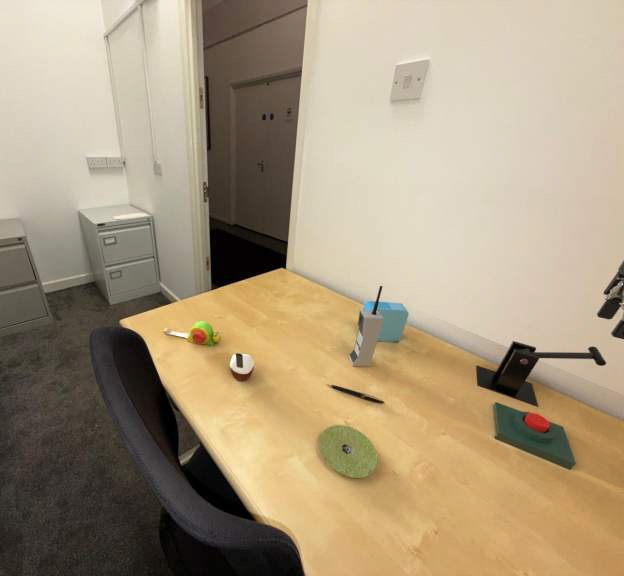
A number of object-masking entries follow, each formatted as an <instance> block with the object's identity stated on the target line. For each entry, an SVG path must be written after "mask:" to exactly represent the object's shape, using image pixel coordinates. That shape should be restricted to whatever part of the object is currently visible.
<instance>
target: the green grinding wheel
mask: <svg viewBox="0 0 624 576" xmlns="http://www.w3.org/2000/svg"><path fill="white" fill-rule="evenodd" d="M318 439H319V440H318V447H319V451H320V454H321V455H322V458H323V459H324V460H325V462H326V463H327V464H328V466H330V467H331V468H332V469H333V470H334V471H336V472H338V473H339V474H341V475H344V476H345V477H348V478H354V479H358V478H359V479H360V478H366V477H368V476H370V475H371V474H372V473H373V472H374V471H375V470H376V468H377V464H378V454H377V451H376V448H375V446H374V444H373V443H372V442H371V440H370V439H369V437H367V436H366V435H365V434H364V433H362V432H361V431H360V430H358V429H357V428H355V427H351V426H349V425H344V424H334V425H331V426H328V427H326V428H325V429H324V430H323V431H322V432H321V434H320V436H319V438H318Z"/></svg>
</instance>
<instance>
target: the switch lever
mask: <svg viewBox="0 0 624 576" xmlns="http://www.w3.org/2000/svg"><path fill="white" fill-rule="evenodd" d="M515 349H516V350H519V351H522V352H526V353H529V354H533V355H536V356H539V359H561V360H562V359H563V360H564V359H565V360H566V359H567V360H593V361H594V362H595V364H596V365H597V366H600V367H604V366H606V365H607V362H606V360H605V359H604V357H603V355H602V354H601V351H600V350H599V349H598V347H597V346H589V347H588V348H587V350H588V352H567V351H566V352H560V351H559V352H558V351H557V352H556V351H555V352H552V351H551V352H550V351H535V352H530V351H529V349H527V348H514V350H515Z"/></svg>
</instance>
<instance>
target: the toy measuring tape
mask: <svg viewBox="0 0 624 576" xmlns="http://www.w3.org/2000/svg"><path fill="white" fill-rule="evenodd" d="M189 331H190V332H189V333H188V332H178V331H173V330H171V329H170V327H165V328H164V329H163V331H162V333H163V334H164V335H169V336H170V335H171V336H176V337H180V338H185V339H186V341H187V342H189V343H194V344H198V345H207V346H214V344H215V343H218V342H219V341H220V340H221V335H220V334H219V332H218V331H215V333H214V328H213V326H212V325H211V324H210V323H209V322H207V321H203V320H200V321H197V322H195V324H194V325H193V326H192V327H191V328H190V330H189Z"/></svg>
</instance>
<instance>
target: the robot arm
mask: <svg viewBox="0 0 624 576" xmlns="http://www.w3.org/2000/svg"><path fill="white" fill-rule="evenodd" d="M617 270H618V271H617V272H616V273H615V275H614V276H613V278H612V279H611V281H610V282H609V283H608V285H607V286H606V288H605V289H604V291H603V295H604V303H603V304H602V306H601V307H600V308H599V310H598V311H597V313H596V316H597V318H601V319H603V320H604V319H605V320H612V319H614V317H615V316H616V315H617V313H618V311H620V308H621V310H623V313H622V317H621V319H620V320H619V321H618V322H617V324H616V325H615V327H614V328H613V330H612V331H611V332H610V335H611V336H612V337H613V338H616V339H620V340H624V260H623V261H622V262H621V264H620V265H619V267H618V269H617Z"/></svg>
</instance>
